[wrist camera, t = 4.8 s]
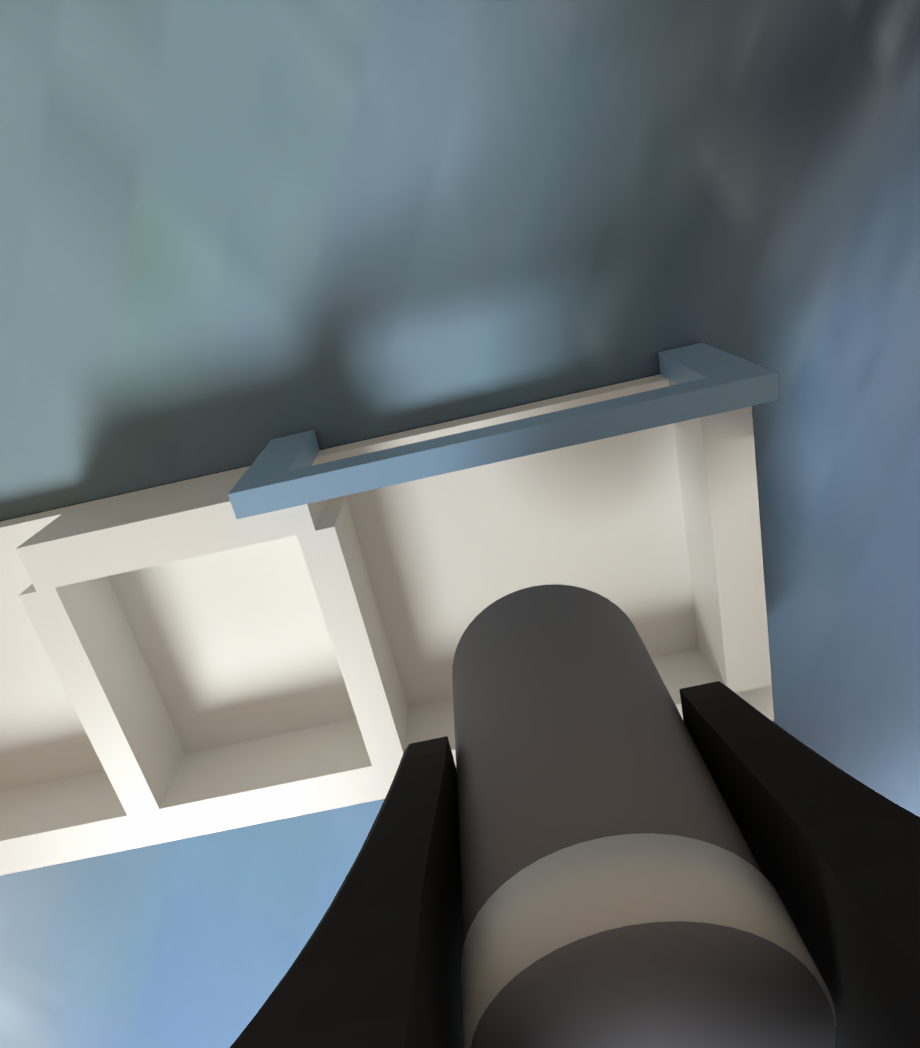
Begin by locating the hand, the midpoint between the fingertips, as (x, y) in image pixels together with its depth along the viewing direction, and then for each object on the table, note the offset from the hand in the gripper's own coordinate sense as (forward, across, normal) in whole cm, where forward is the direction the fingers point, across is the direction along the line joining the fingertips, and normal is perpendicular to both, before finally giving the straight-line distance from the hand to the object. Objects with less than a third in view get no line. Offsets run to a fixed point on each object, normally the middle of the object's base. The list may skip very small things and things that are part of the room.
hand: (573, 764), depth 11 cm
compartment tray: (+7, +7, 0) cm, 10 cm away
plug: (+2, 0, 0) cm, 3 cm away
